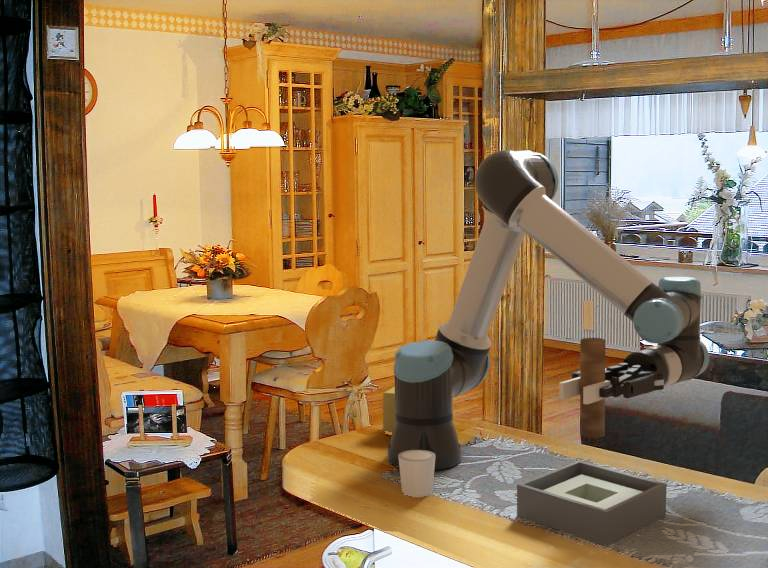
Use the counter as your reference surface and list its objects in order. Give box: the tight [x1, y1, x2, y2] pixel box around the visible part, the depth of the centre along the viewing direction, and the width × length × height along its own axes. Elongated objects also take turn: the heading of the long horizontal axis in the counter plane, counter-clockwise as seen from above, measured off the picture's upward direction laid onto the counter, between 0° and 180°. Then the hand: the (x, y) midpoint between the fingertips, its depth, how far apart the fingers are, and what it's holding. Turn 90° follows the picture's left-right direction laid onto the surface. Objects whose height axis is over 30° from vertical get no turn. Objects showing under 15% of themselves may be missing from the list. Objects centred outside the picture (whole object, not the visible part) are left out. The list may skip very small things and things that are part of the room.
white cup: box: [398, 450, 435, 498], centre depth 163 cm, size 7×7×7 cm
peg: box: [579, 337, 606, 439], centre depth 148 cm, size 4×4×16 cm
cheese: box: [382, 385, 395, 433], centre depth 201 cm, size 10×11×10 cm
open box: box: [516, 459, 667, 547], centre depth 150 cm, size 18×18×6 cm
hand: (573, 393), depth 144 cm, fingers closed on peg, 4 cm apart
